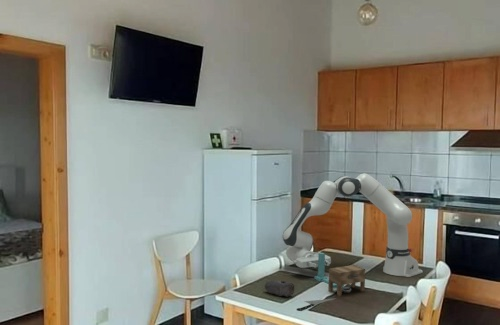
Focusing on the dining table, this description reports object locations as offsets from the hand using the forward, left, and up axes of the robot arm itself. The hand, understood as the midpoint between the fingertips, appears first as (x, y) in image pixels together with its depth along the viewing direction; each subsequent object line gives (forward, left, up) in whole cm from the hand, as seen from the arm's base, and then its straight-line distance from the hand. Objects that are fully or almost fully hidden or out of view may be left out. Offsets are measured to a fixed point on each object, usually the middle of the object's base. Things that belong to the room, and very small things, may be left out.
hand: (322, 265), depth 240 cm
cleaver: (+23, +23, -9) cm, 34 cm away
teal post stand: (0, +5, -8) cm, 9 cm away
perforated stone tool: (+33, +9, -8) cm, 35 cm away
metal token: (0, +19, -8) cm, 21 cm away
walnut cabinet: (0, +19, -8) cm, 21 cm away
